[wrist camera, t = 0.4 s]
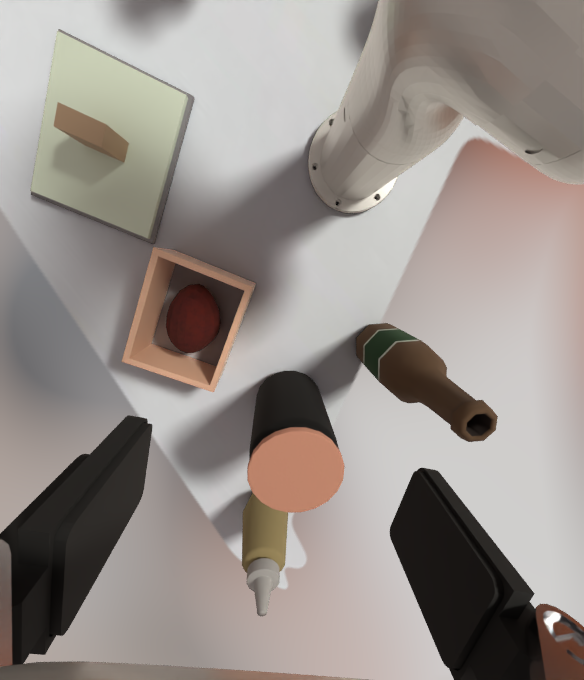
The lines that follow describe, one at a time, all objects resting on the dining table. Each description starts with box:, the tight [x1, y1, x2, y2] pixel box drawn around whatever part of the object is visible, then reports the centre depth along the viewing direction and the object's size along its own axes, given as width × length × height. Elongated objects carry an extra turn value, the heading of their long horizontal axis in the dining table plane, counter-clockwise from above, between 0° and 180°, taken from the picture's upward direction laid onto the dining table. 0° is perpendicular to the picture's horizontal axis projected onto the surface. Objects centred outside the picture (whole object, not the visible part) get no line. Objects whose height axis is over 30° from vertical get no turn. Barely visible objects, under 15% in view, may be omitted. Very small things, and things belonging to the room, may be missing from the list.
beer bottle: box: [356, 323, 498, 442], centre depth 34 cm, size 8×8×24 cm
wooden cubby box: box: [122, 247, 256, 392], centre depth 40 cm, size 16×13×7 cm
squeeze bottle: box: [242, 493, 288, 616], centre depth 44 cm, size 8×8×18 cm
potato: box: [166, 284, 220, 353], centre depth 40 cm, size 7×10×6 cm
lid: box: [30, 31, 188, 239], centre depth 33 cm, size 18×15×6 cm
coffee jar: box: [248, 371, 344, 512], centre depth 39 cm, size 11×11×18 cm
